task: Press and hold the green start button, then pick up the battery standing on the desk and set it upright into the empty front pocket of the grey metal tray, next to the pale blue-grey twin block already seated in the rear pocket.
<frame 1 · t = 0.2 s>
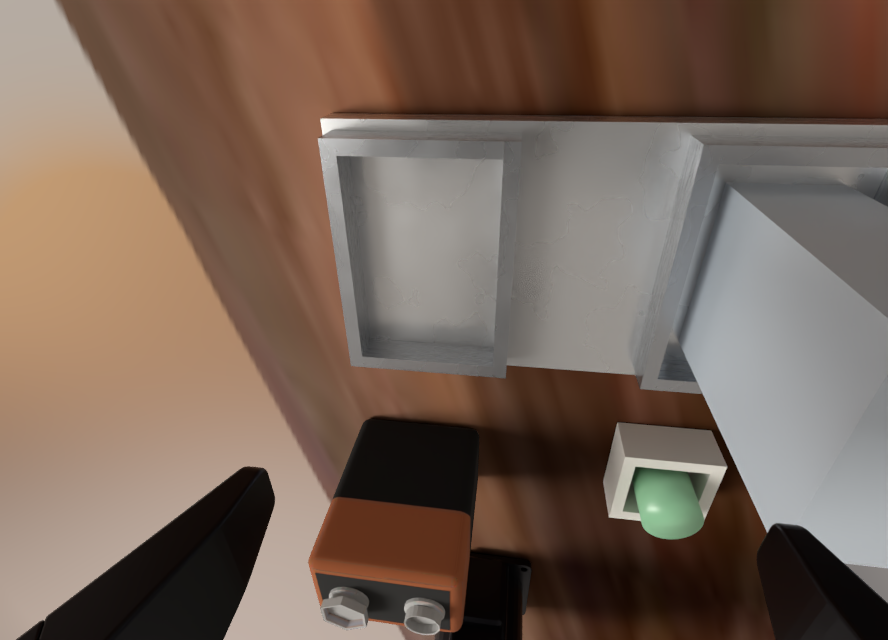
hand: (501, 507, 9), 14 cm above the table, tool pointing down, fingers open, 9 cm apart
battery: (423, 444, 29), on the table
grey metal tray: (581, 252, 21), on the table
button housing: (654, 457, 27), on the table
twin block: (753, 272, 19), point 1 cm above the table, touching grey metal tray
start button: (665, 496, 24), point 3 cm above the table, slide at 0.0 cm
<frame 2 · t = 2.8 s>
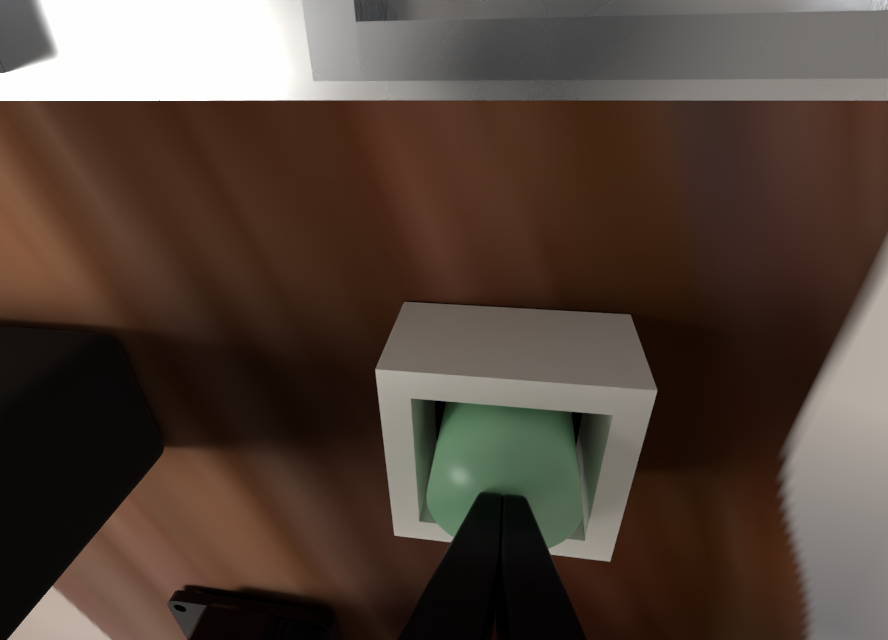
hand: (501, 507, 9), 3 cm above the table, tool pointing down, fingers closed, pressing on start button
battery: (48, 379, 14), on the table
button housing: (508, 394, 11), on the table
start button: (505, 449, 10), point 2 cm above the table, slide at 0.9 cm, touching gripper
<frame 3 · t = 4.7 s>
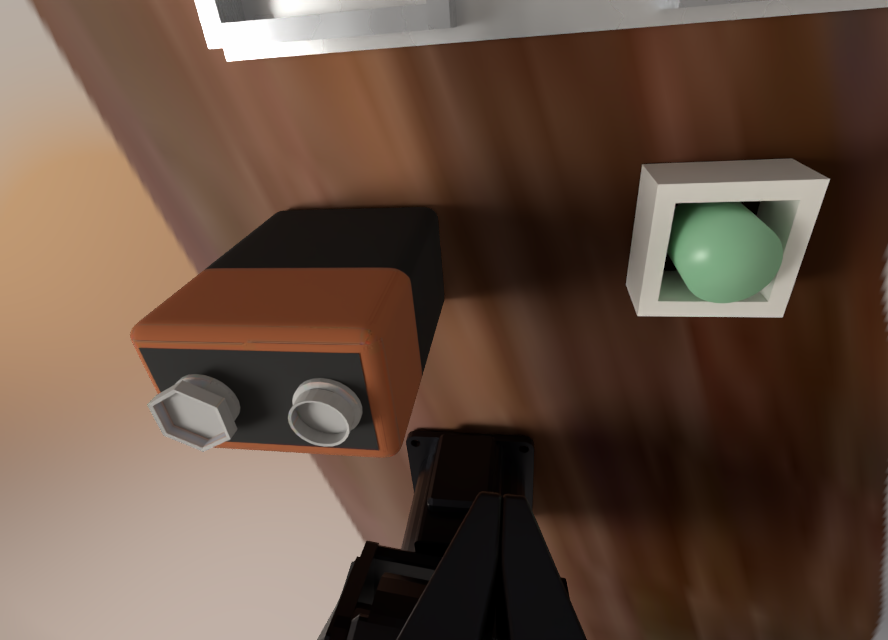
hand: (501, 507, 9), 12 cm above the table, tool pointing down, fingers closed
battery: (364, 253, 20), on the table
button housing: (701, 227, 18), on the table
start button: (716, 246, 16), point 2 cm above the table, slide at 0.9 cm
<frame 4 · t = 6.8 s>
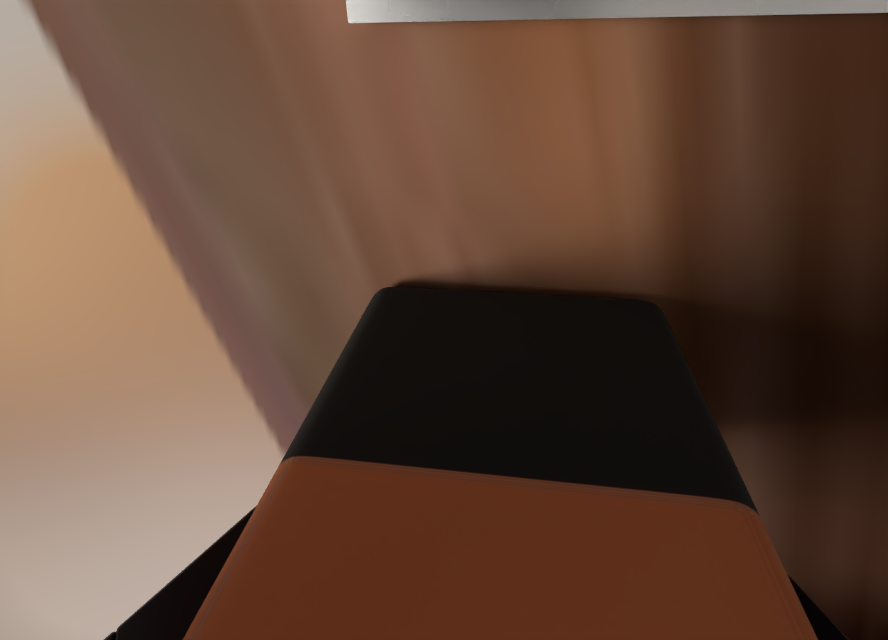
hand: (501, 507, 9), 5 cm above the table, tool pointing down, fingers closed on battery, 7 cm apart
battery: (509, 355, 13), on the table, touching gripper
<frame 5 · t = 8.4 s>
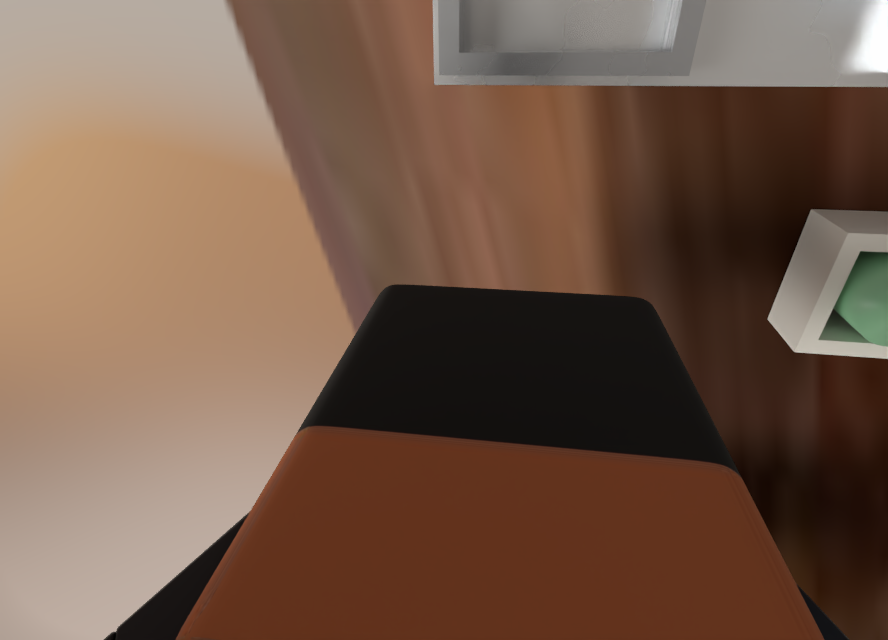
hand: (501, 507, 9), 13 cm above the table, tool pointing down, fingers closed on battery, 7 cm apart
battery: (508, 352, 13), point 8 cm above the table, touching gripper
button housing: (853, 270, 19), on the table
start button: (881, 291, 17), point 2 cm above the table, slide at 0.9 cm
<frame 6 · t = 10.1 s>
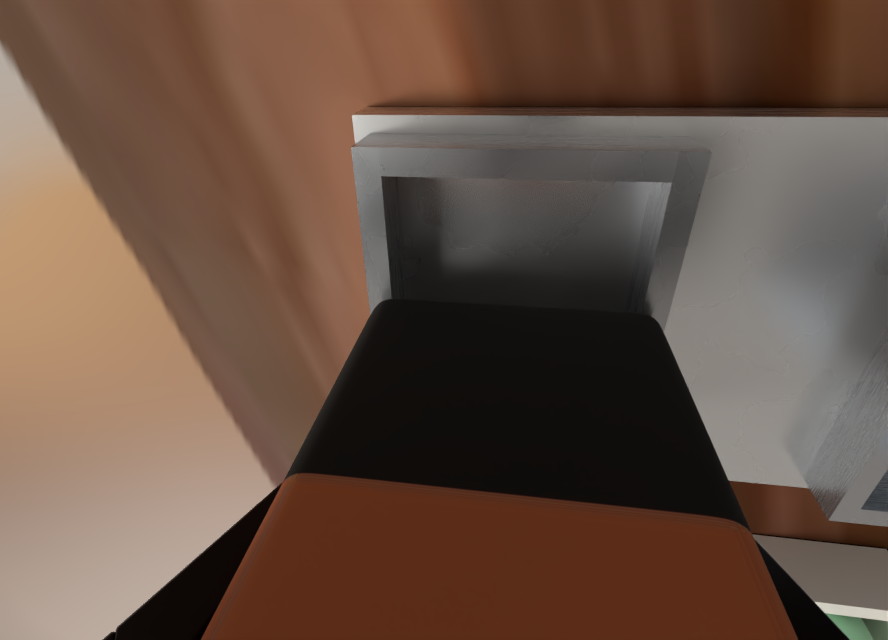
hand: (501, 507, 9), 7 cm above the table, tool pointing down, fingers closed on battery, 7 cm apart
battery: (508, 364, 13), point 3 cm above the table, touching gripper, grey metal tray
grey metal tray: (740, 314, 14), on the table
button housing: (794, 576, 19), on the table
start button: (816, 621, 18), point 2 cm above the table, slide at 0.9 cm
when the fingers open (6 cm above the table, at t = 10.8 s): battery stays where it is, resting on grey metal tray.
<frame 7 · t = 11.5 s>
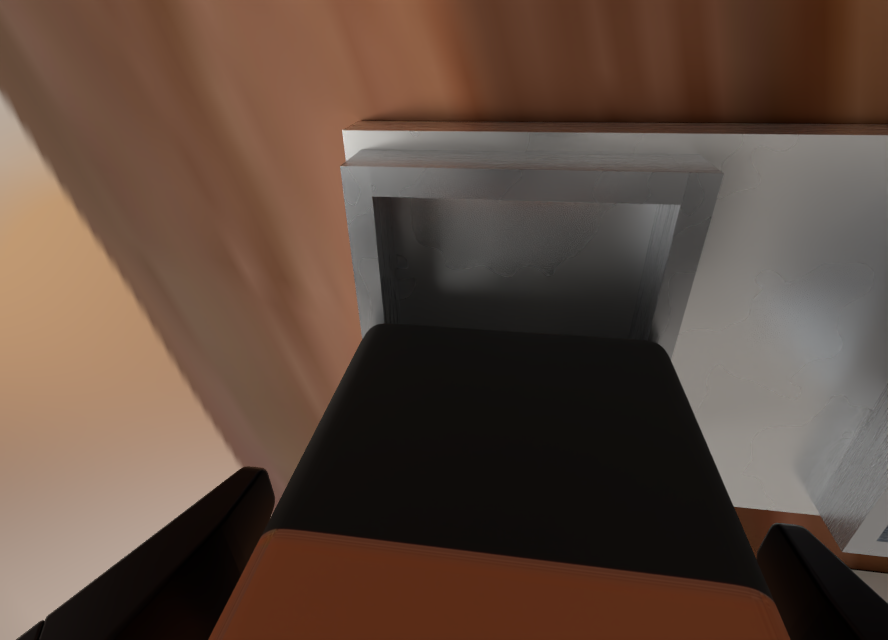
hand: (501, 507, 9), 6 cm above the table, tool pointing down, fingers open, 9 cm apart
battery: (507, 390, 12), point 3 cm above the table, touching grey metal tray
grey metal tray: (749, 336, 13), on the table
button housing: (803, 601, 19), on the table
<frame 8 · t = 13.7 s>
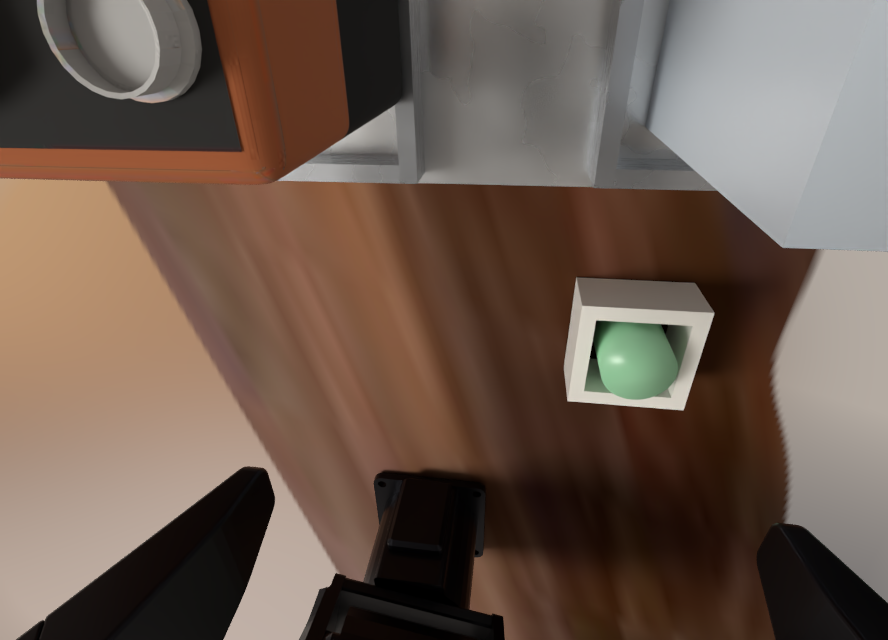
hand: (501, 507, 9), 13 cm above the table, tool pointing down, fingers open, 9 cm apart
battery: (294, 26, 15), point 3 cm above the table, touching grey metal tray
grey metal tray: (514, 4, 16), on the table
button housing: (624, 328, 21), on the table
start button: (631, 350, 20), point 2 cm above the table, slide at 0.9 cm
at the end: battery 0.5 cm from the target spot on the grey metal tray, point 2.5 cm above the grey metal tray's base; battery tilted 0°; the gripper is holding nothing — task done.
